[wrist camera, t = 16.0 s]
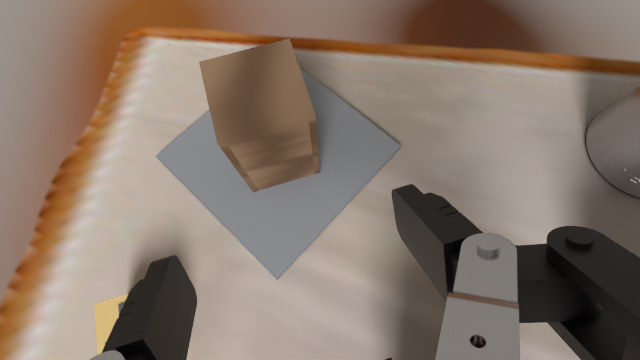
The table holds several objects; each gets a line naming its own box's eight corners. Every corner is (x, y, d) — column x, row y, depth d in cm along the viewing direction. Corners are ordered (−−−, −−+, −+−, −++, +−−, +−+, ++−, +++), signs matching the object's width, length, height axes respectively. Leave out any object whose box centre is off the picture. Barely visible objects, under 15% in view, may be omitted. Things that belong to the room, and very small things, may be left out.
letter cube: (175, 288, 28) (149, 287, 24) (182, 339, 26) (157, 347, 23) (126, 303, 27) (93, 304, 24) (131, 355, 26) (97, 366, 22)
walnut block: (301, 114, 32) (289, 38, 23) (320, 172, 30) (315, 115, 21) (238, 132, 32) (199, 62, 22) (252, 192, 30) (217, 143, 20)
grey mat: (278, 53, 35) (278, 50, 35) (400, 147, 31) (401, 145, 31) (157, 158, 31) (155, 156, 31) (277, 279, 28) (276, 279, 27)
